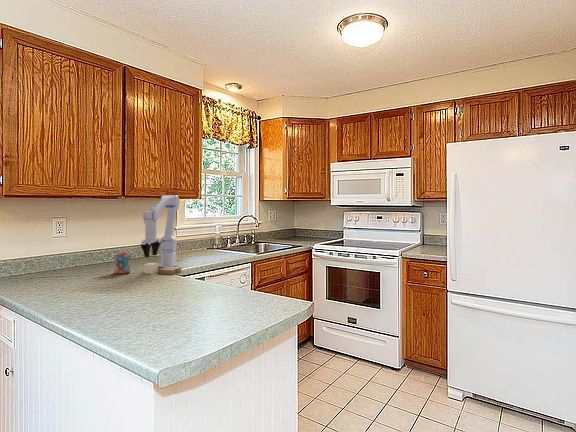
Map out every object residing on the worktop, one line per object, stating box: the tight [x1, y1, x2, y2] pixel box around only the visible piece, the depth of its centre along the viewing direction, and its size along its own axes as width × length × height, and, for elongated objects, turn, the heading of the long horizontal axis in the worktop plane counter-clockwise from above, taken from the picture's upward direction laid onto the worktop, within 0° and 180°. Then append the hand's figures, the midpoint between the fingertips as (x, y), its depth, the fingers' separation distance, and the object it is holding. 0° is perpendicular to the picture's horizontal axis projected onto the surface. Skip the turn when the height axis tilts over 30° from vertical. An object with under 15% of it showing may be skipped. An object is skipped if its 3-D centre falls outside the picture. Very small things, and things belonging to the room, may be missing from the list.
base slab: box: [157, 266, 182, 276], centre depth 205 cm, size 9×9×2 cm
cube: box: [143, 262, 159, 275], centre depth 204 cm, size 5×5×5 cm
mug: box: [112, 252, 137, 275], centre depth 202 cm, size 12×9×11 cm
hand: (150, 256), depth 204 cm, fingers open, 7 cm apart
